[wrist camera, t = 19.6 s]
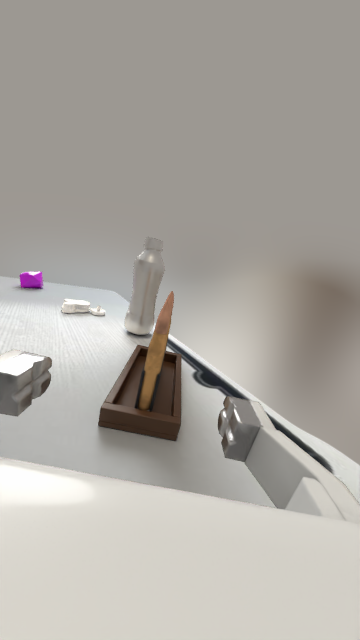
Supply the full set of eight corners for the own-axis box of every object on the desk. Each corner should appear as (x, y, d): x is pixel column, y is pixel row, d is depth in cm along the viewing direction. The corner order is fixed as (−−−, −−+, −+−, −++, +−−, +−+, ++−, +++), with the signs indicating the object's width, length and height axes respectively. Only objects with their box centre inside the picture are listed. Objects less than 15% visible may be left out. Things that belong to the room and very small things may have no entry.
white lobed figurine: (69, 317, 40) (69, 308, 40) (52, 306, 45) (53, 297, 44) (107, 315, 48) (108, 307, 47) (90, 305, 52) (91, 298, 52)
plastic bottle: (124, 337, 37) (142, 233, 32) (121, 325, 43) (135, 235, 38) (155, 339, 40) (175, 243, 35) (147, 327, 46) (164, 244, 41)
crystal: (22, 283, 57) (22, 268, 56) (43, 286, 60) (44, 272, 58) (18, 287, 53) (18, 271, 51) (42, 290, 56) (42, 274, 54)
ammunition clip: (150, 418, 19) (177, 307, 16) (132, 415, 19) (155, 302, 16) (161, 365, 29) (179, 292, 26) (150, 363, 29) (166, 289, 26)
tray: (175, 441, 18) (180, 424, 17) (97, 425, 17) (100, 407, 17) (178, 365, 32) (181, 354, 31) (135, 355, 31) (137, 344, 31)
